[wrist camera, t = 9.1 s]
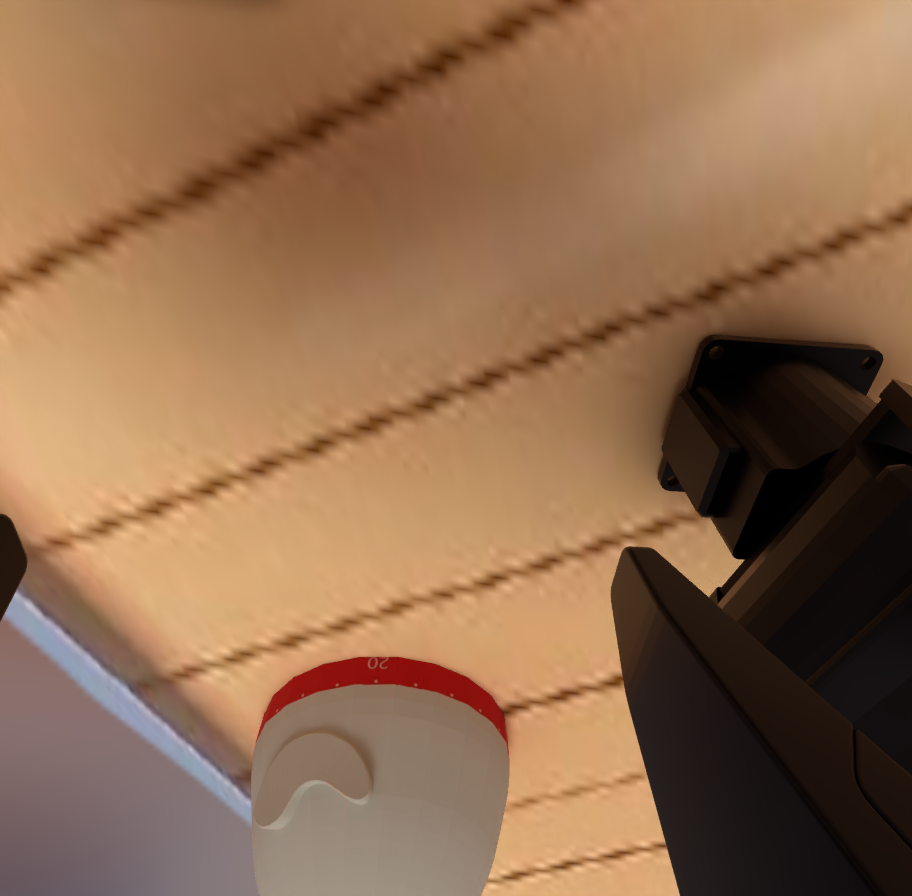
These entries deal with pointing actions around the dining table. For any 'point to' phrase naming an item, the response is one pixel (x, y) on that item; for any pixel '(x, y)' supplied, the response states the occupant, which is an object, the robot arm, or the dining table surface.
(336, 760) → the kitchen timer
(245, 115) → the dining table surface
